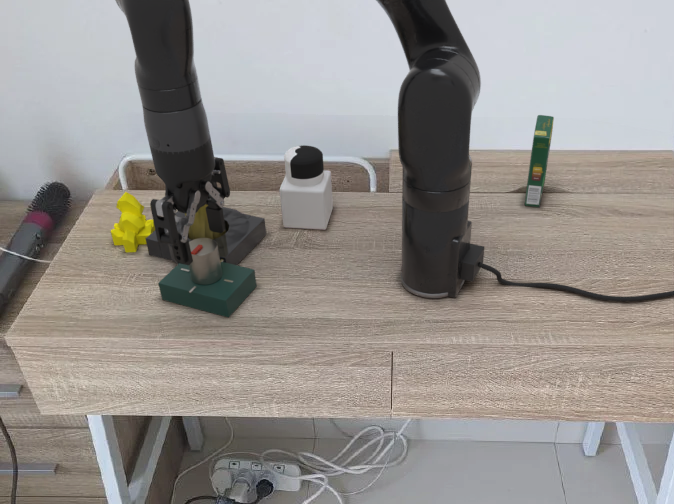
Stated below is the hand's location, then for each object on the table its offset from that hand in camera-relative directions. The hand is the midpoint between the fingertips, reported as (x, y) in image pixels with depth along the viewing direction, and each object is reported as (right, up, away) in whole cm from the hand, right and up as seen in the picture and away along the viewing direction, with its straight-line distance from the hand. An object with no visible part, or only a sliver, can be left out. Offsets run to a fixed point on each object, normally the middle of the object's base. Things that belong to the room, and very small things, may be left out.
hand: (202, 246), depth 107 cm
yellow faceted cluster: (-15, +3, +17) cm, 23 cm away
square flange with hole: (-3, +2, +16) cm, 16 cm away
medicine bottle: (+12, +8, +22) cm, 26 cm away
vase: (-3, +2, +16) cm, 16 cm away
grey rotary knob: (0, -4, +4) cm, 5 cm away
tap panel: (0, -6, +6) cm, 8 cm away
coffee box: (+51, +12, +28) cm, 59 cm away
